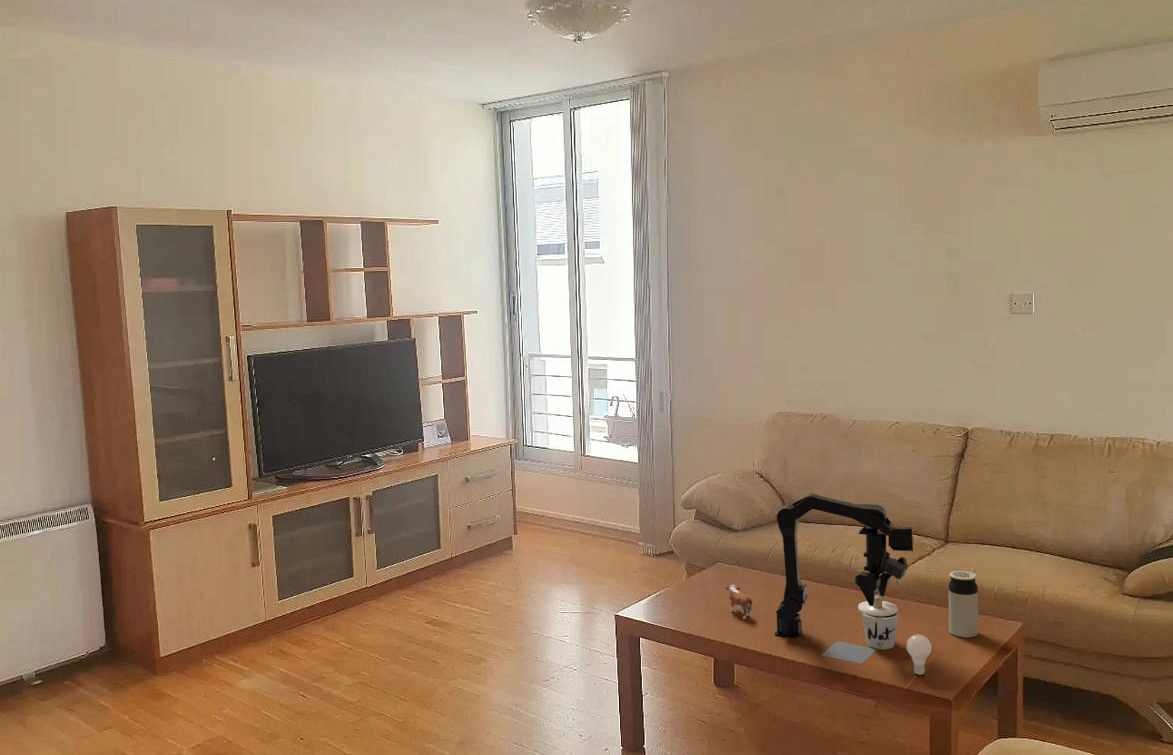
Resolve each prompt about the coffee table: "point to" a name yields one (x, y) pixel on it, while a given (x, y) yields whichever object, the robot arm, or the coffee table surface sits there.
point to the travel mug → (963, 604)
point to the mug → (880, 630)
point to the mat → (849, 652)
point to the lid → (878, 608)
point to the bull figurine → (740, 600)
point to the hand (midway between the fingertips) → (877, 601)
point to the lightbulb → (919, 651)
